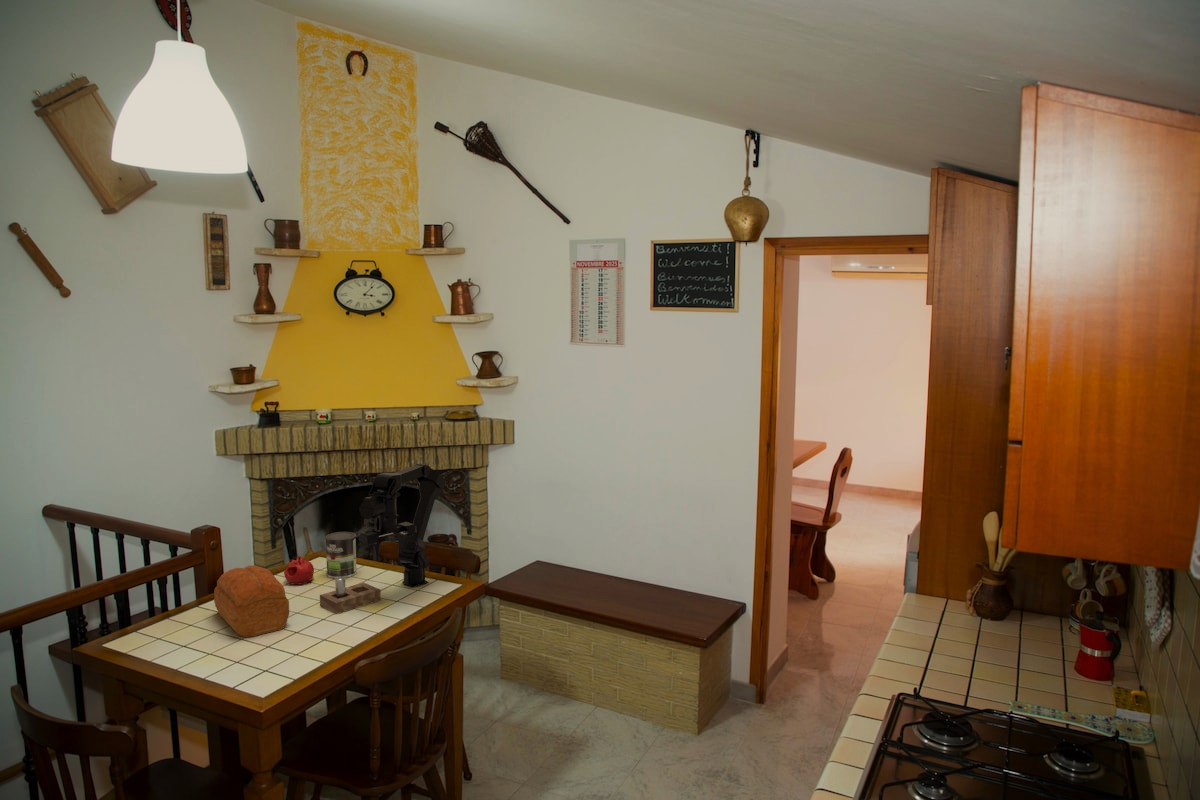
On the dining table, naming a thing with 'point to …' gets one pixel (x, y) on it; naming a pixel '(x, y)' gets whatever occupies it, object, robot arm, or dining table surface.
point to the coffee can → (341, 554)
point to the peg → (340, 587)
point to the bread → (251, 601)
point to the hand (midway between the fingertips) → (388, 558)
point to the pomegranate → (299, 571)
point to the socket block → (350, 598)
